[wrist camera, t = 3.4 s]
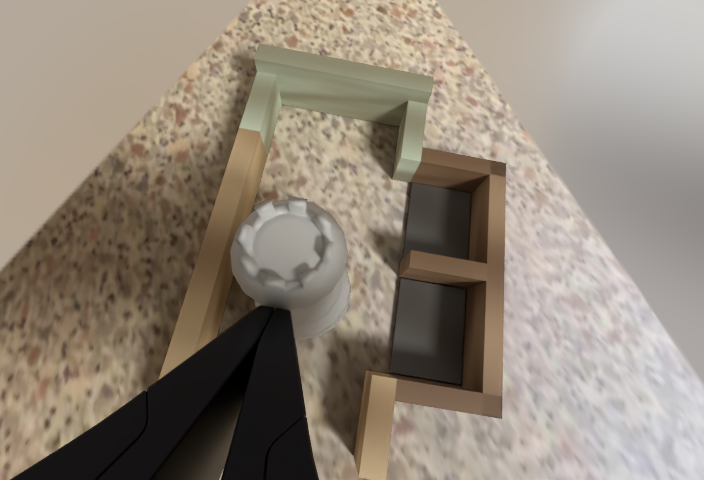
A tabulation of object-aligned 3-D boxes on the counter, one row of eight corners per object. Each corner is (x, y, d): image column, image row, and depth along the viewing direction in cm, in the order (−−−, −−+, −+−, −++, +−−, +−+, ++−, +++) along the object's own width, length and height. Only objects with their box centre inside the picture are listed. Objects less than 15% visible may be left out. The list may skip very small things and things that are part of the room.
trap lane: (474, 476, 14) (512, 510, 11) (167, 426, 14) (125, 449, 11) (487, 129, 20) (515, 92, 17) (268, 87, 19) (258, 43, 16)
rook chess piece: (364, 318, 16) (402, 289, 8) (274, 356, 15) (223, 364, 7) (329, 236, 17) (335, 144, 9) (245, 267, 16) (174, 193, 8)
